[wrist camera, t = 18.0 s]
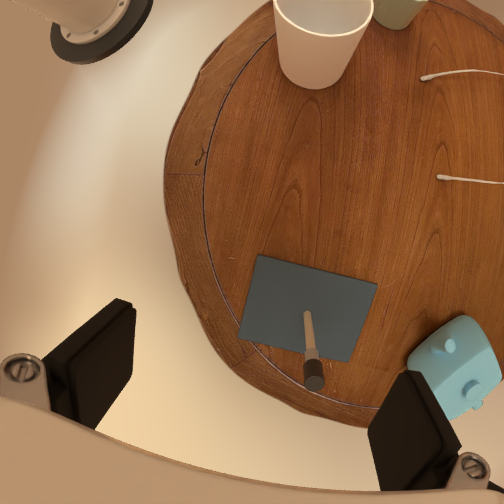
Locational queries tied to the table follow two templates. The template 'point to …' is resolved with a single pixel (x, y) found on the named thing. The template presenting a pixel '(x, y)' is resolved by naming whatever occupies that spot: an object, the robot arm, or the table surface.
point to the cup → (319, 38)
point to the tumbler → (396, 12)
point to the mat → (305, 308)
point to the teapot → (457, 365)
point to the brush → (311, 358)
